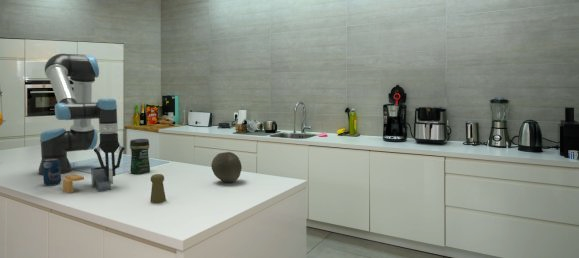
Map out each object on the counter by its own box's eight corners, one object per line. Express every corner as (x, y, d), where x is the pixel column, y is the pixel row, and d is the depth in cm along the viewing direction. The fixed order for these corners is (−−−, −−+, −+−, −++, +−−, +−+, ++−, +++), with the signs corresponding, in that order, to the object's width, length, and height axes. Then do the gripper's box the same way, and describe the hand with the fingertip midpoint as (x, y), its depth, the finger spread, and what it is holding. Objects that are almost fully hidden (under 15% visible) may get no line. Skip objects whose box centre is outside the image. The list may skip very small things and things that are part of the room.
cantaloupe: (230, 177, 188) (230, 148, 186) (247, 182, 178) (247, 152, 176) (206, 182, 178) (206, 152, 176) (223, 187, 168) (222, 155, 166)
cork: (160, 197, 152) (159, 172, 151) (169, 200, 148) (168, 174, 147) (147, 201, 147) (146, 174, 146) (156, 204, 144) (155, 176, 142)
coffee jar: (136, 175, 192) (134, 140, 190) (128, 173, 197) (126, 139, 195) (152, 172, 199) (151, 138, 197) (145, 170, 204) (143, 137, 202)
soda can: (51, 186, 168) (49, 161, 167) (40, 185, 170) (38, 160, 169) (64, 183, 175) (63, 158, 174) (53, 181, 177) (52, 157, 176)
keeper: (61, 190, 162) (60, 176, 161) (75, 187, 167) (74, 174, 166) (70, 193, 157) (69, 179, 156) (84, 190, 162) (83, 176, 161)
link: (113, 189, 164) (112, 172, 163) (95, 192, 160) (94, 174, 159) (108, 182, 177) (107, 166, 176) (91, 184, 173) (90, 167, 172)
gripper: (92, 134, 159) (94, 186, 161) (124, 132, 164) (126, 183, 167) (92, 132, 165) (95, 182, 168) (124, 131, 171) (126, 180, 174)
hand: (111, 183), depth 167 cm, fingers closed
